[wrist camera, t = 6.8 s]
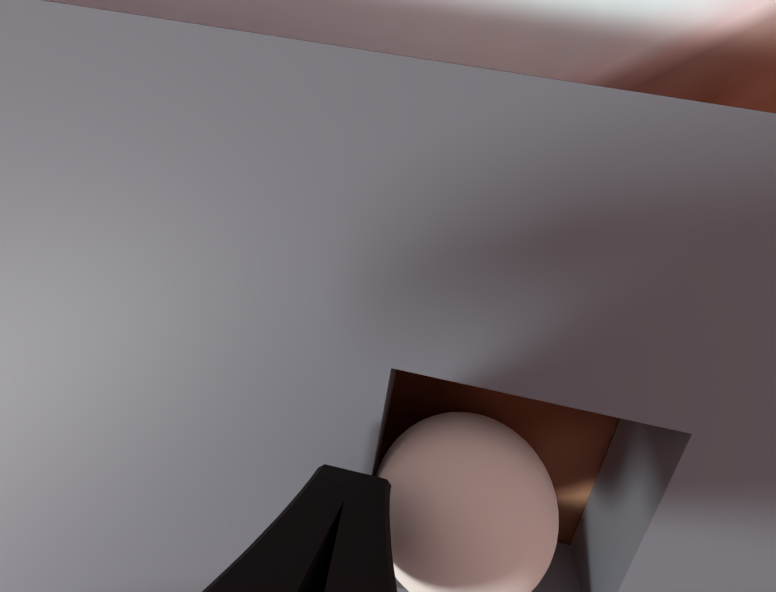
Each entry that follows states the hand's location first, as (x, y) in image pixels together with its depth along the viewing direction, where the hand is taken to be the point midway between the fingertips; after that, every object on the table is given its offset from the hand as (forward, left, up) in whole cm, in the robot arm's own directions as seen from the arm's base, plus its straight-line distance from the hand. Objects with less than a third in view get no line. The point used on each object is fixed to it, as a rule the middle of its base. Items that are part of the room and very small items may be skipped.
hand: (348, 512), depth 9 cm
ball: (0, -2, -1) cm, 3 cm away
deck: (0, +3, -3) cm, 5 cm away
